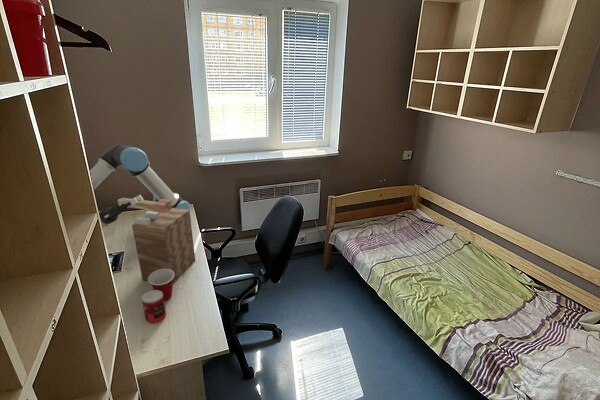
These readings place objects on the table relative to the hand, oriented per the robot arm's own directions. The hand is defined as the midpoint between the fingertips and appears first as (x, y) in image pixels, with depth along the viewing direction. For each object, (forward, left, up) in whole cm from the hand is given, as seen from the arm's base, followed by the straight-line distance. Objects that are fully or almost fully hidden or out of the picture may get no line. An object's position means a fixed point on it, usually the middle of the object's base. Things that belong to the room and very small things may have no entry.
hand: (138, 198), depth 151 cm
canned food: (+28, +22, -40) cm, 54 cm away
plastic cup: (+16, +18, -40) cm, 47 cm away
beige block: (0, +2, -4) cm, 5 cm away
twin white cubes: (+1, +4, -10) cm, 11 cm away
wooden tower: (-4, +8, -40) cm, 41 cm away
